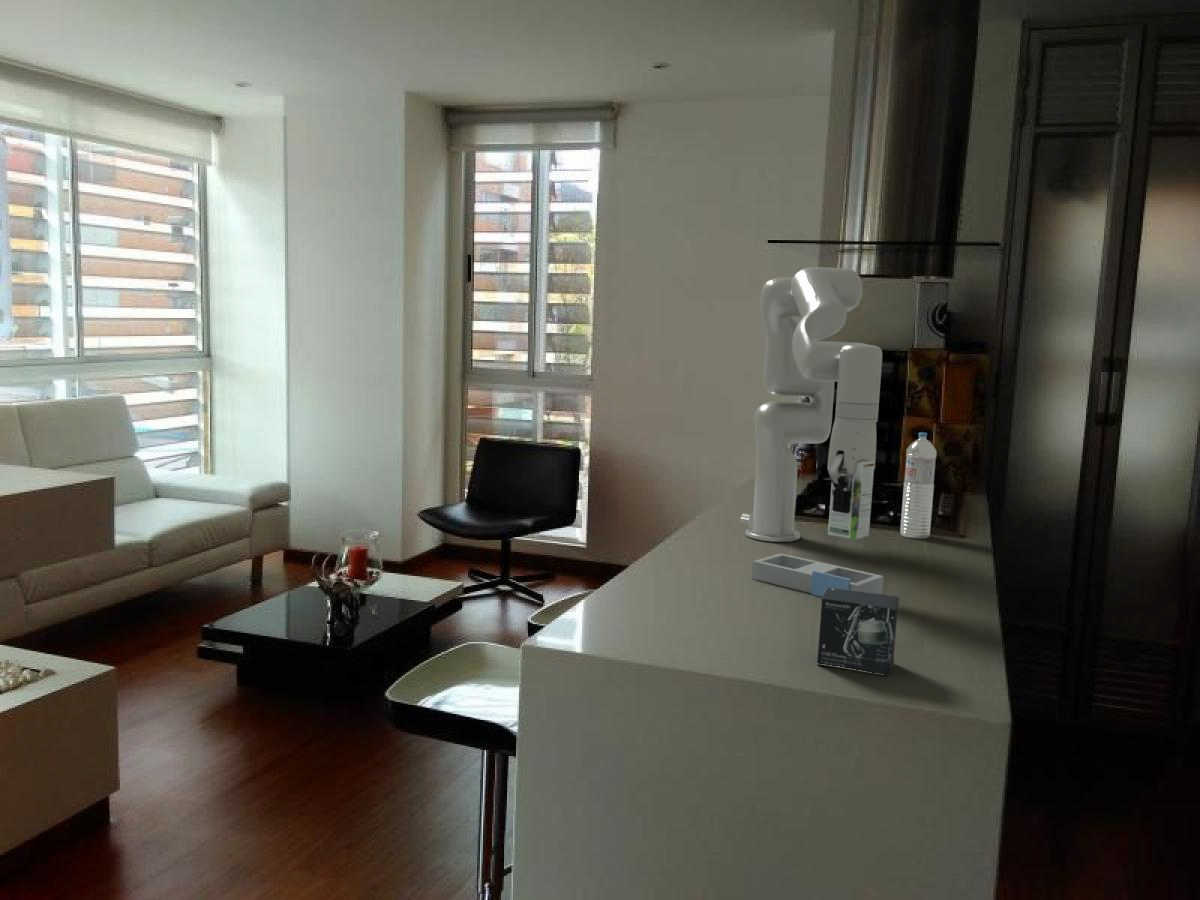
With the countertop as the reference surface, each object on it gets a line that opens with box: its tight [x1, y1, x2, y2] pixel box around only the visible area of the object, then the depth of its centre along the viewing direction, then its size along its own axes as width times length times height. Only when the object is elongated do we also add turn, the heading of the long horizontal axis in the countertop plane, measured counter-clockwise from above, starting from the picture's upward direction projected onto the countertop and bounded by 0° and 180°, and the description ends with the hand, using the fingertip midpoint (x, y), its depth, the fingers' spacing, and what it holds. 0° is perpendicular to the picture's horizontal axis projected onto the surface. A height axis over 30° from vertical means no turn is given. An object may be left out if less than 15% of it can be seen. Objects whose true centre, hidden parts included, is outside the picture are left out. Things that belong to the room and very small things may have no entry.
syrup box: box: [827, 460, 875, 541], centre depth 177 cm, size 6×6×14 cm
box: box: [816, 588, 900, 676], centre depth 141 cm, size 11×7×10 cm, turn 69°
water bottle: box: [899, 432, 938, 540], centre depth 228 cm, size 7×7×25 cm
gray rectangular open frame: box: [751, 553, 884, 598], centre depth 183 cm, size 22×10×4 cm, turn 47°
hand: (850, 508), depth 177 cm, fingers closed on syrup box, 5 cm apart
